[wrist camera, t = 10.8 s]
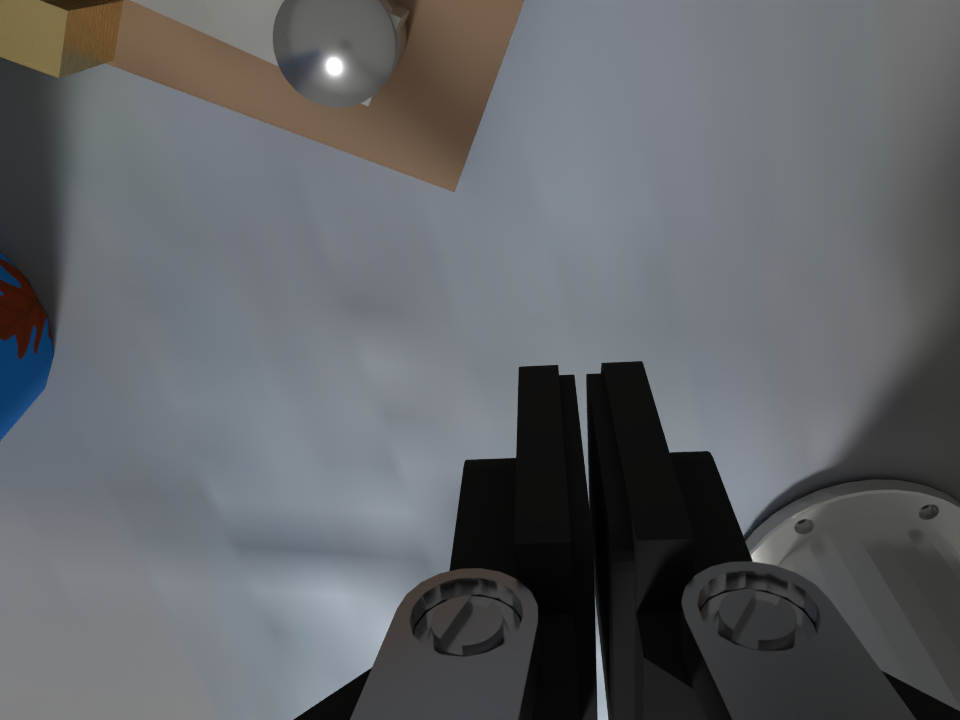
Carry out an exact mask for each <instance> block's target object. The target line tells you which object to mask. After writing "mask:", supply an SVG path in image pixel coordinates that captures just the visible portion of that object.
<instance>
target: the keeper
mask: <svg viewBox="0 0 960 720" xmlns="http://www.w3.org/2000/svg"><path fill="white" fill-rule="evenodd" d="M122 6H123V1H122V0H0V57H2V58H5V59H7V60H10V61H13V62H16V63H18V64H21V65H24V66H27V67H29V68H32V69H35V70H38V71H40V72H43V73H46V74H49V75H51V76H54V77H57V78H61V77H64V76H67V75H70V74H73V73H77V72H80V71H83V70H86V69H89V68H92V67H95V66H98V65H101V64H104V63H107V62H110V61H113V60H114V56H115V50H116V44H117V37H118V31H119V25H120V19H121V12H122Z"/></svg>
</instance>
